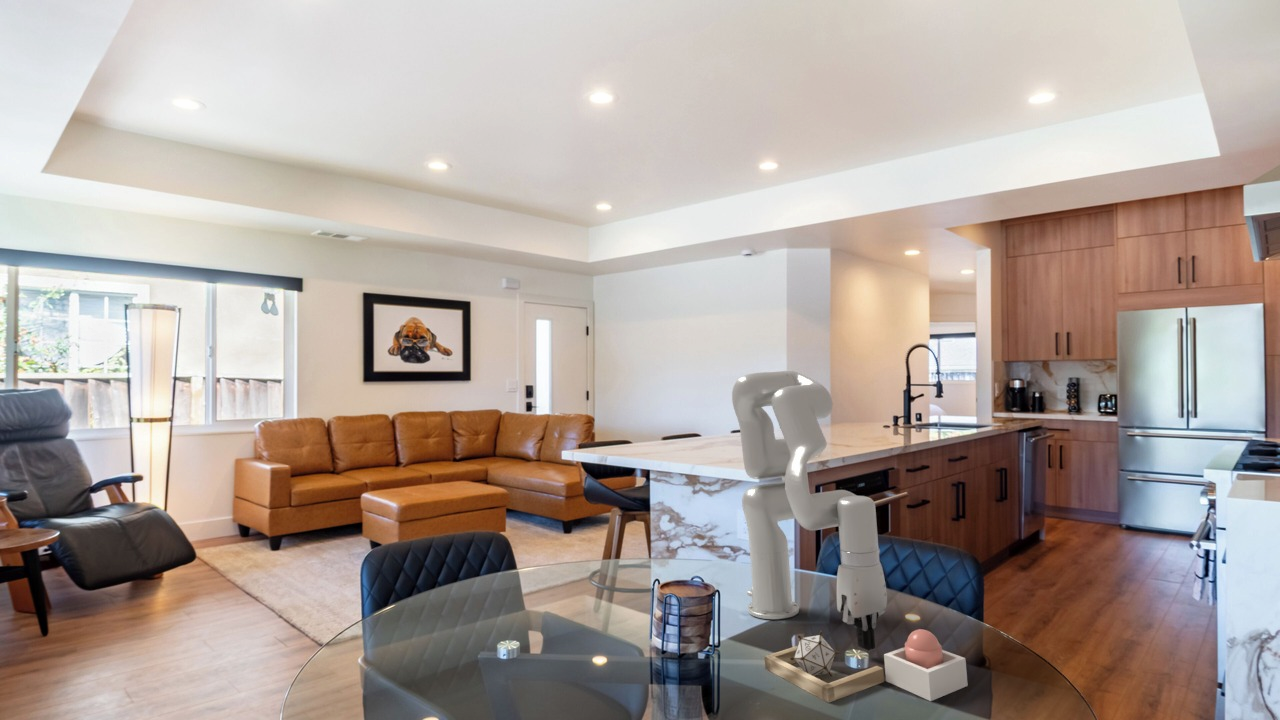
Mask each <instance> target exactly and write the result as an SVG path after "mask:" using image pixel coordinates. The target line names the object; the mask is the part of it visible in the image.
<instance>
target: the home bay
mask: <svg viewBox="0 0 1280 720" xmlns="http://www.w3.org/2000/svg"><path fill="white" fill-rule="evenodd" d="M797 646H798V645H796V646H793V647H790V648H786V649H783V650H780V651H777V652H773V653H769V654H767V655H765V656H764V655H763V656H764V669H765V670H767V671H769V672H771V673H772V674H774V675H776V676H778V677H780V678H782V679H783V680H785V681H787V682H790V683H791V684H793V685H795V686H796V687H798V688H800V689H802V690H804V691H806V692H808V693H810V694H811V695H813V696H815V697H816V698H819V699H820V700H823V701H824V702H826V703H828V704H830V703H832V702H835V701H837V700H839V699H842V698H845V697H847V696H850V695H853V694H856V693H858V692H859V693H860V692H861V691H864V690H866V689H869V688H871V687H874V686H876V685H880V684H883V683H884V682H885V678H884V677H885V676H884V668H883V667H881V666H878V665H875V666H872V667H870V668H867V669H864V670H861V671H859V672H856V673H852V674H850V675H848V676H845V677H842V678H839V679H837V680H834V681H831V682H829V683H828V682H826V681H824V680H821V679H820V678H819V677H817V676H812V675H810V674H808V673H806V672H804V671H803V669H800V668H798V667H796V666H794V665H792V664H795V663H796V664H797V662H796V661H795V660H790V658H792V657H793V658H794V656H795V653H796V649H797Z"/></svg>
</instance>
